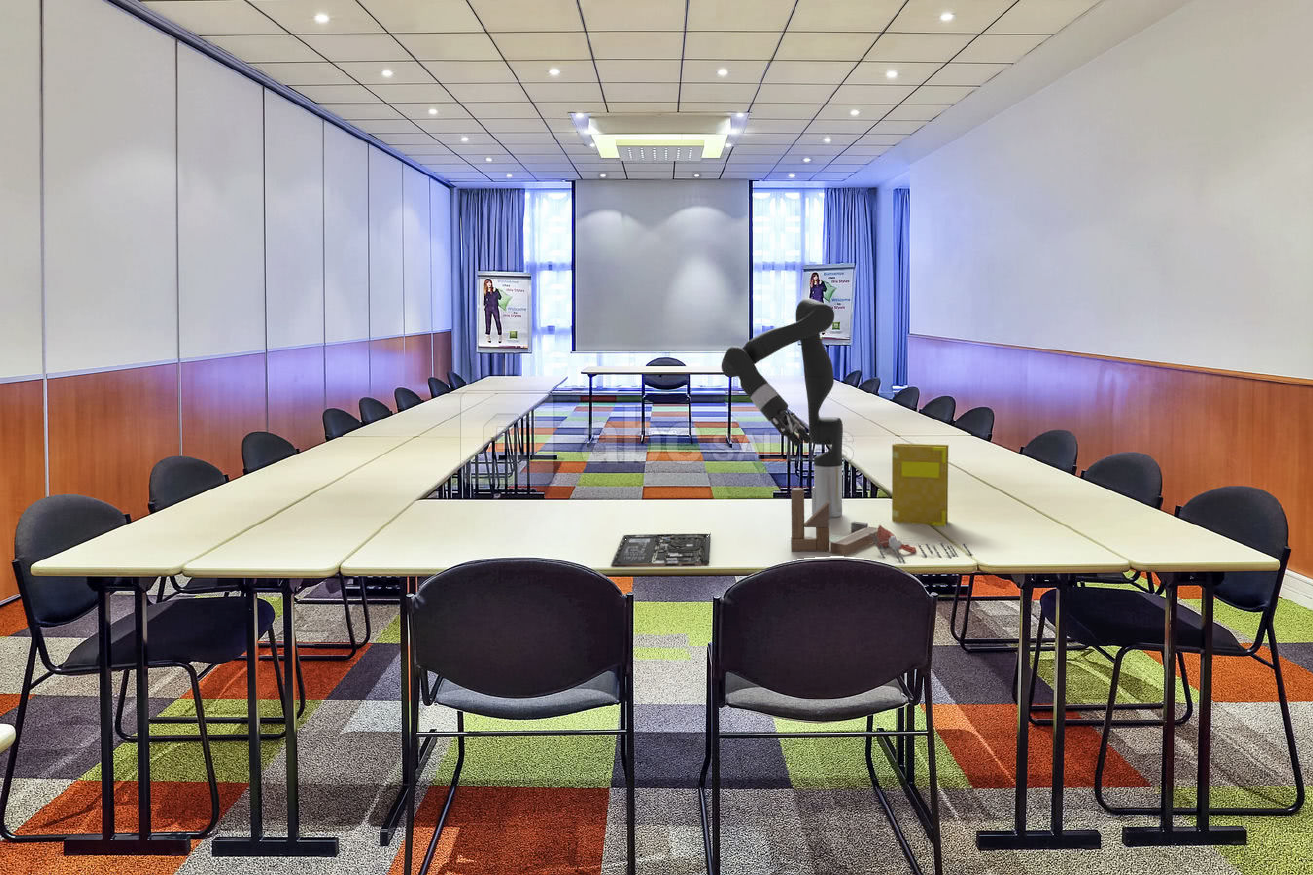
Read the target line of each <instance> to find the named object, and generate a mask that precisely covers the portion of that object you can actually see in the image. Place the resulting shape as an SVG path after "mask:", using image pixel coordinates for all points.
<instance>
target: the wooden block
mask: <svg viewBox="0 0 1313 875" xmlns="http://www.w3.org/2000/svg"><path fill="white" fill-rule="evenodd" d="M790 490H791V491H790V495H791V537H790V538H791V539H790V541H791V542H790V543H791V544H790V545H791V546H790V548H791V551H792V552H830V542H829V534H830V517H829V502H828V501H827V502H826V503H825V504H824V505H823V506H822V507H821V508H820V509H819V510H818V511H817V512H816V513H815V514H814V515H812V516H810V518H809V519H807V521H806V522H805V489H804V488H802V487H795V488H791V489H790ZM805 528H815V536H814V537H816V538H814V537H813V536H805Z"/></svg>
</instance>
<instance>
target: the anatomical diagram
mask: <svg viewBox="0 0 1313 875" xmlns="http://www.w3.org/2000/svg"><path fill="white" fill-rule="evenodd" d="M877 528H878V534H877V536H876V533H874V536H875V538H876V539H877V541H875V539H874V537H873V535H872V534H871V533H869V534H870V535H871V536H872V539H873V541H874V543H873V544H875V547H877V549H878V551H879V552H880V555H881V556H882V558H883V559H884V558H886V557H885V554H883V552H885V548H887V547H889V548H890V549H891V550H892V551H893V553H894V555H895V556H896V558H897V560H898V562H899V563H902V562H903V564H907V562H905V560H906V559H904V558H903V557H902V555H901V552H900V550H903V551H905V552H907V553H910V554H914V553H915V552H917V548H916V547H918V548H919V549H920V551H921V553H922V555H923V556H924V558H927V557H928V555H927V553H925V551H924V549H923V548H922V546H923V543H924V546H926V548H927V550H928V552H929V553H930V554H931V555H933V554H934V551H935V553H936V555H937V556H938V558H941V559H942V556H941V555H940V553H939V551H938V550H937V548H936V545H934V544H931V543H925V541H922V540H919V543H916V539H918V538H917V537H916V538H910V542H908V541H906V542H905V538H900V539H898V538H897V537H896V535H895V534H894V533H892V532H891V531H889V530H888V529H886V528H885V527H884V526H882V525H881V524H879V525H878V527H877ZM912 539H914V540H912ZM930 540H934V541H935V540H936V541H938V542H937V543H939V545H940V546H941V547H942V549H943V550H944V553H945V554H946V555H947V557H948V558H949V559H952V556H953V557H954V558H955V557H956V558H957V557H959V555H958V554H957V552H956V550H955V548H953V545H946V546H945V545H944V544H943V543H942V542H941V541H939V540H938V539H937V538H935V539H934V538H933V539H932V538H930ZM911 542H915V546H916V547H915V546H912V543H911ZM920 542H923V543H920ZM954 544H955V545H956V544H958V545H959V543H958V542H957V543H954ZM962 545H963V547H964V548H965V550H966V551H967V553H968V554H969V556H973V554H972V552H971V551H970V550H969V549H968V547H967V546H966V543H962ZM930 546H931V547H932V549H933V550H934V551H933V550H931V547H930ZM947 550H948V551H947ZM949 552H950V553H949ZM950 554H951V555H952V556H951V555H950Z"/></svg>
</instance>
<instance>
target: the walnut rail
mask: <svg viewBox="0 0 1313 875" xmlns="http://www.w3.org/2000/svg"><path fill="white" fill-rule="evenodd" d="M850 531H851V532H850V533H849V534H847V535H845V537H842V538H840V539H838V540H835V541H833V542H831V543H830V542H829V552H830V554H836V555H843V556H848V555H850V554H853V553H854V552H857V551H859V550H861V549H863V548H865V547H868V546H869V545H871V544H875V543H874V541H873V539H872V536H871V535H870V534H869V533H871V534H872V535H873V537H874V539H875V541H877V539H876V538H875V536H874V533H876V536H877V534H878V527H877V526H876V527H874V526H869V523H867V522H861V521H860V522H859V521H852V522H851V523H850Z"/></svg>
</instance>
